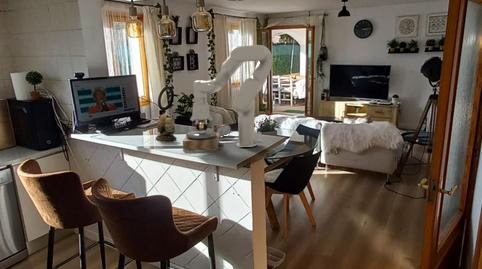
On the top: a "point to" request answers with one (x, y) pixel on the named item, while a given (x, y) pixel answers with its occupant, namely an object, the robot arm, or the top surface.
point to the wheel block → (200, 144)
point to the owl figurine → (165, 129)
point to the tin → (222, 129)
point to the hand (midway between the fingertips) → (201, 130)
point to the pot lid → (201, 133)
